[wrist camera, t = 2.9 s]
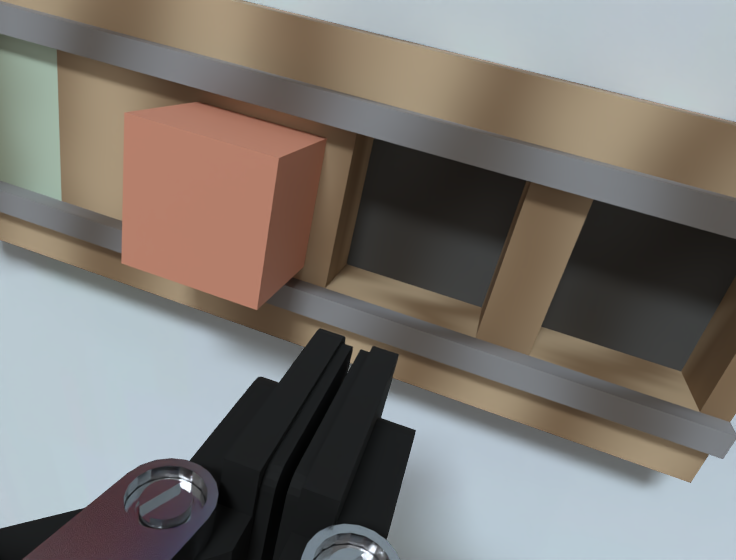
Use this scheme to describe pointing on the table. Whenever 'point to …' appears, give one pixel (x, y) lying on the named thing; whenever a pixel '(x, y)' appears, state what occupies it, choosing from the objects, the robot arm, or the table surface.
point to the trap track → (416, 209)
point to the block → (218, 199)
